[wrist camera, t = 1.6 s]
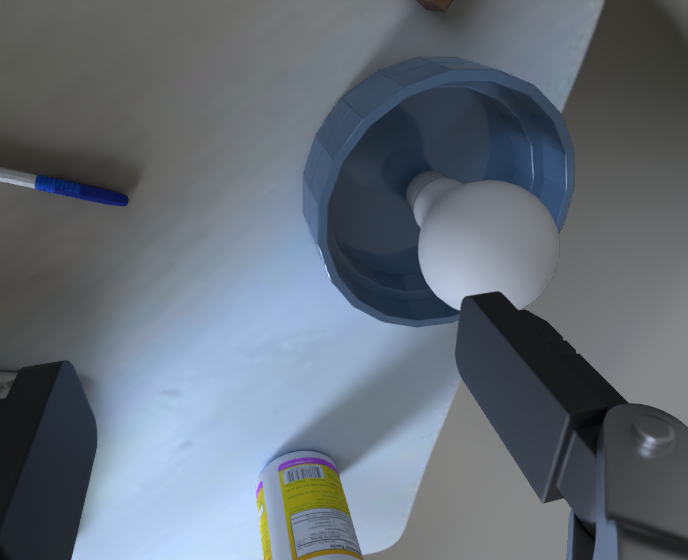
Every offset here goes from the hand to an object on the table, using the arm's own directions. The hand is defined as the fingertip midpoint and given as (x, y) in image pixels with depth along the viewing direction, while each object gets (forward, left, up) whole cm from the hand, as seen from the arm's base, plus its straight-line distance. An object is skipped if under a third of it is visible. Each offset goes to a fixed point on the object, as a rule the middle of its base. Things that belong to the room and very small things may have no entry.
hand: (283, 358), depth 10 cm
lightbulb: (+10, +3, -18) cm, 21 cm away
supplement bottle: (+18, -21, -18) cm, 33 cm away
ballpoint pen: (-8, -8, -18) cm, 21 cm away
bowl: (+10, +3, -18) cm, 21 cm away
